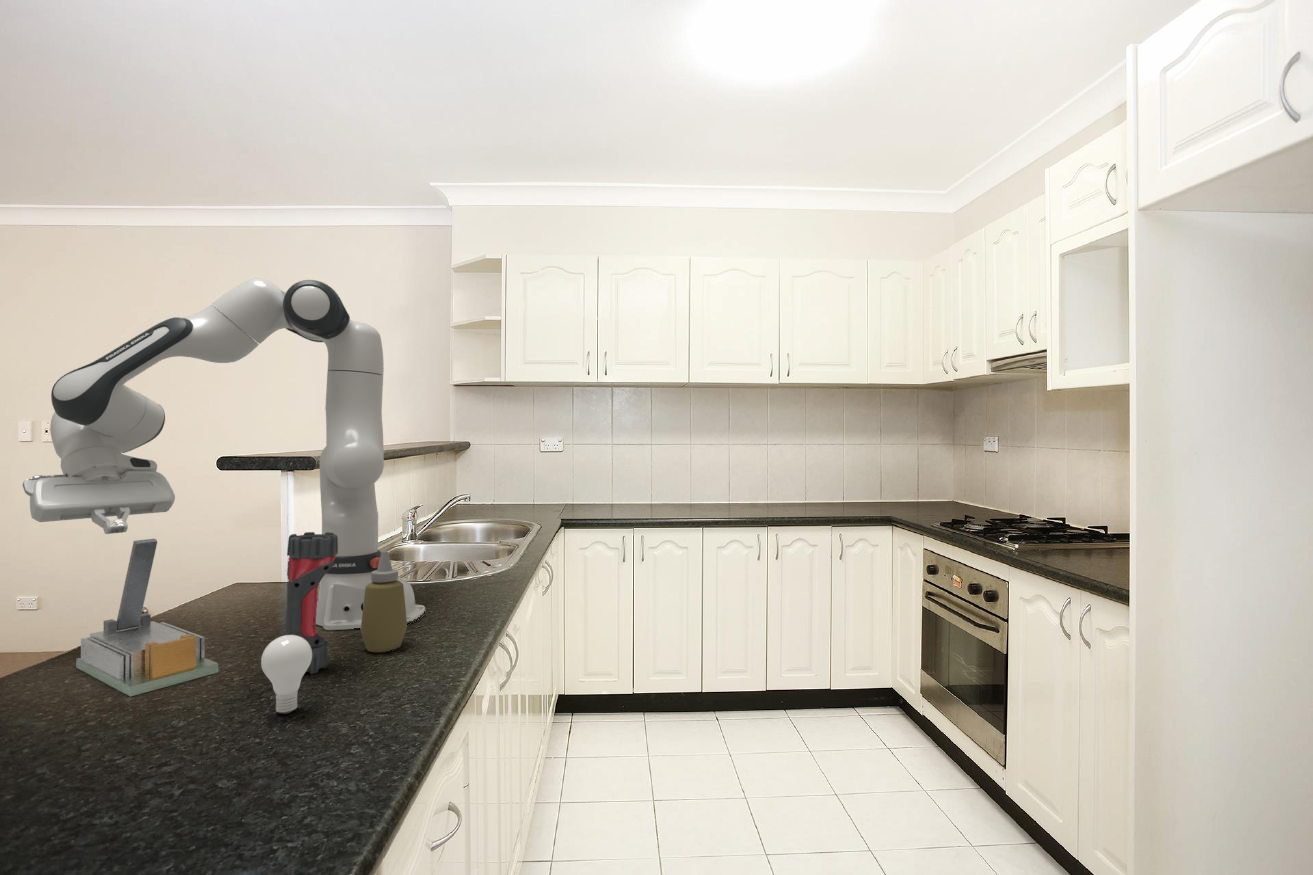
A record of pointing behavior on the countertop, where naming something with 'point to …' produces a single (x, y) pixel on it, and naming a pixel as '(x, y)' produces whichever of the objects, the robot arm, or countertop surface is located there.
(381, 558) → the squeeze bottle
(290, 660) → the lightbulb
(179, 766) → the countertop surface
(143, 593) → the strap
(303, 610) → the flashlight
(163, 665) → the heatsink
